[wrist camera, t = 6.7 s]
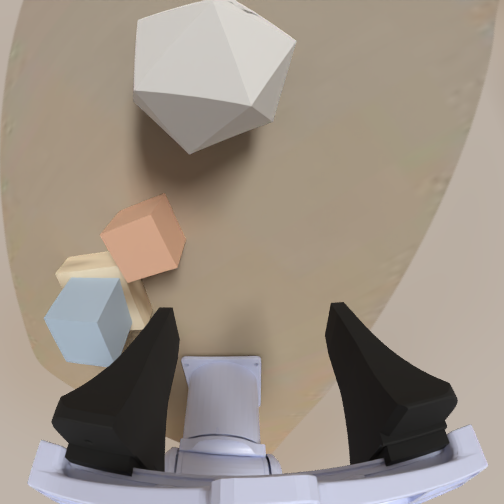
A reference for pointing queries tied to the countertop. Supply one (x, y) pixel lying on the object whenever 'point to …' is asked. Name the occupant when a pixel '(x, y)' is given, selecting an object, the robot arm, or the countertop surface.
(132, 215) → the terracotta block
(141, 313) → the beech base
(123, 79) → the countertop surface
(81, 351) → the blue block
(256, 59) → the die
